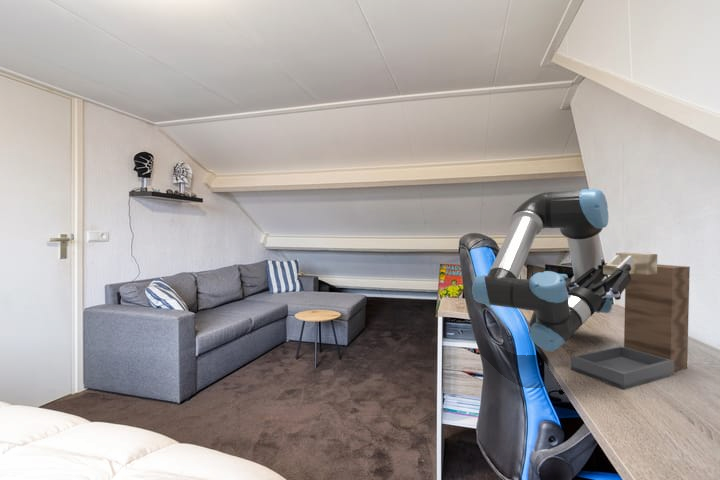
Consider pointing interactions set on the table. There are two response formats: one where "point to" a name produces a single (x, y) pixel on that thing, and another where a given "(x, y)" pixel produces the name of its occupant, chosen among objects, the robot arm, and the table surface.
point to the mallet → (635, 264)
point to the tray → (622, 366)
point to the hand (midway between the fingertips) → (625, 259)
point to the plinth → (659, 313)
